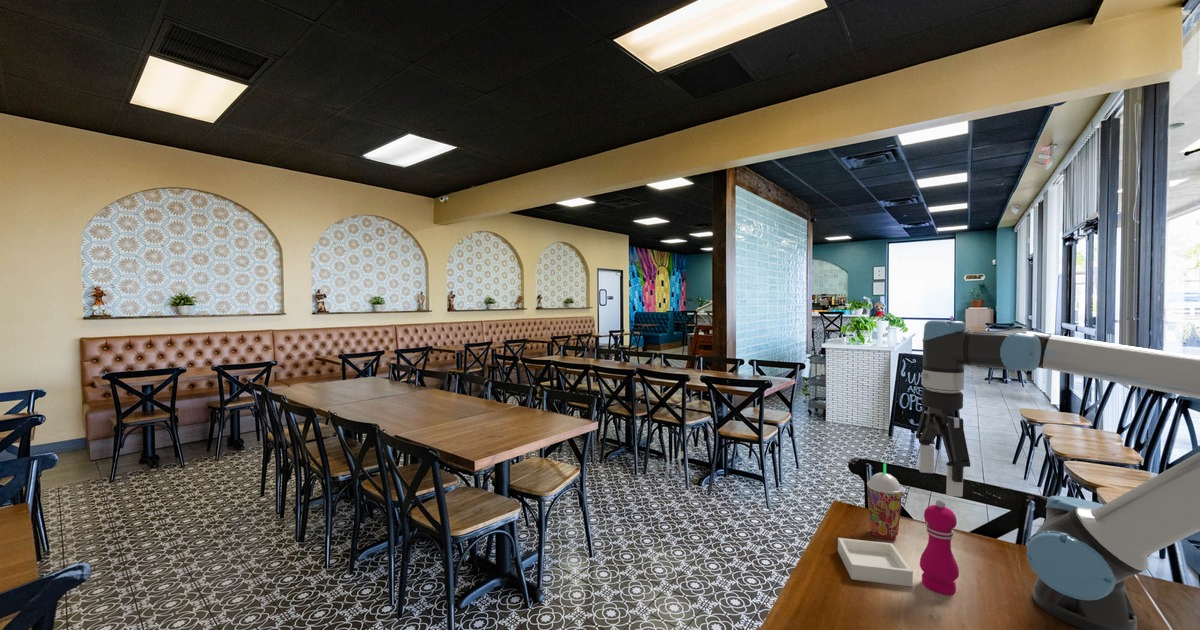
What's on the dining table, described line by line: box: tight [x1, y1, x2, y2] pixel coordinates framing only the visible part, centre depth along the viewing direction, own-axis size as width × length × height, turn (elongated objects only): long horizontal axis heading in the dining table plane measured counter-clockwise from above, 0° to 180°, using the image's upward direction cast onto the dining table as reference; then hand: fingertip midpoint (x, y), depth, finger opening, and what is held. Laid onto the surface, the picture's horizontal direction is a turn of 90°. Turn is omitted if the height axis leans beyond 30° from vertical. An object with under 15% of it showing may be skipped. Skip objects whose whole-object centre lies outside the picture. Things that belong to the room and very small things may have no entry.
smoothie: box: [866, 462, 904, 541], centre depth 130 cm, size 8×8×20 cm
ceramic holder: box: [837, 537, 914, 588], centre depth 115 cm, size 13×13×4 cm
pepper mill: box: [919, 499, 960, 596], centre depth 107 cm, size 7×7×20 cm
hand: (939, 483), depth 107 cm, fingers open, 13 cm apart
